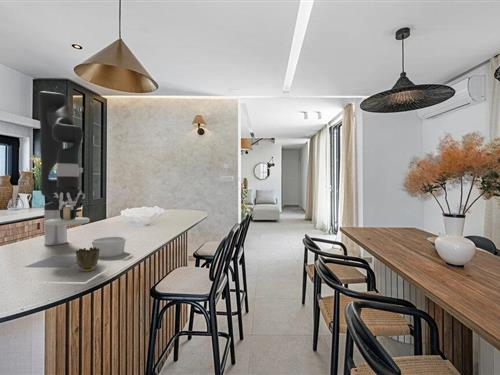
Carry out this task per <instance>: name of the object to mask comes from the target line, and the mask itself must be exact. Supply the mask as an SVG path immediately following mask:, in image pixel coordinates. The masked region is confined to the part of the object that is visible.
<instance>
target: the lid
mask: <svg viewBox="0 0 500 375" xmlns="http://www.w3.org/2000/svg"><path fill="white" fill-rule="evenodd" d="M70 210H71V208H70V206H66V207H63V219H61V218H56V219H49V220H46V221H45V224H46V225H52V226H64V225H67V226H74V225H77V226H78V225H84V224H87V223H90V218H89V217H81V216H80V217H78V216H76V218H75V219H70Z"/></svg>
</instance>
